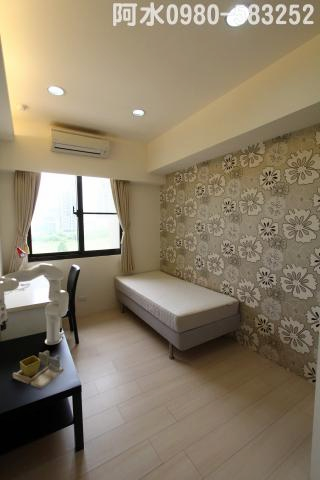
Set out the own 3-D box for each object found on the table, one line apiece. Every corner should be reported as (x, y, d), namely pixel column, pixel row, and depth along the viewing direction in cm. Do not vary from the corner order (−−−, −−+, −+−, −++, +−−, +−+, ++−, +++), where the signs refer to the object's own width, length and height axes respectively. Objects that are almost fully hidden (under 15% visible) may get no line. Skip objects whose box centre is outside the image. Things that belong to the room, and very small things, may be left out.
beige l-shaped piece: (53, 367, 147) (53, 353, 146) (63, 370, 144) (63, 356, 143) (31, 384, 131) (30, 369, 130) (41, 388, 128) (40, 373, 127)
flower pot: (34, 367, 146) (33, 355, 145) (40, 373, 141) (40, 360, 140) (19, 375, 139) (19, 361, 138) (26, 381, 134) (25, 367, 133)
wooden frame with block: (40, 359, 155) (40, 348, 154) (55, 364, 150) (55, 352, 150) (12, 378, 136) (12, 365, 135) (28, 384, 131) (28, 371, 131)
